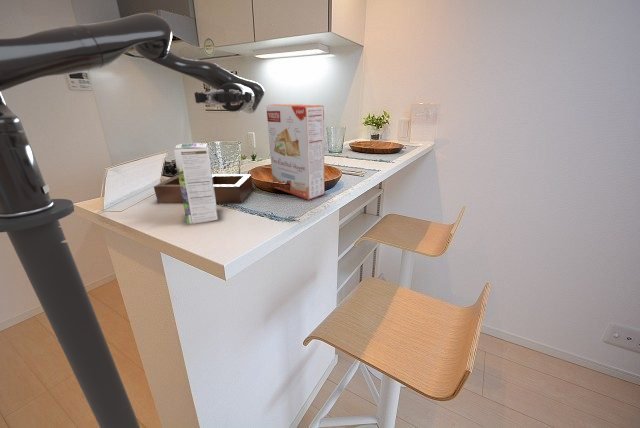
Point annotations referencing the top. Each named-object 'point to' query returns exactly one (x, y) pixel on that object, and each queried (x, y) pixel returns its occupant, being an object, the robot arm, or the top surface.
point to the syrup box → (196, 182)
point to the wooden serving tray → (224, 188)
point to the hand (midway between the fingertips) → (214, 97)
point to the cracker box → (297, 148)
